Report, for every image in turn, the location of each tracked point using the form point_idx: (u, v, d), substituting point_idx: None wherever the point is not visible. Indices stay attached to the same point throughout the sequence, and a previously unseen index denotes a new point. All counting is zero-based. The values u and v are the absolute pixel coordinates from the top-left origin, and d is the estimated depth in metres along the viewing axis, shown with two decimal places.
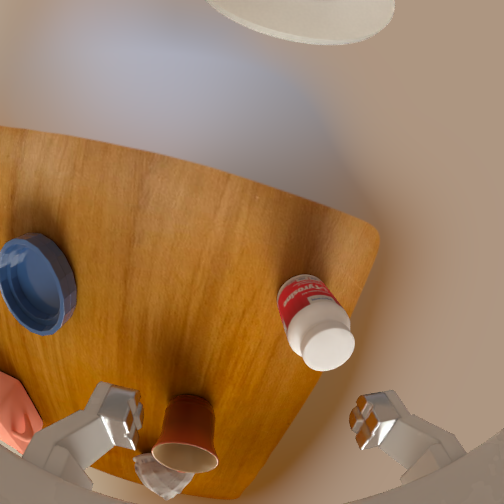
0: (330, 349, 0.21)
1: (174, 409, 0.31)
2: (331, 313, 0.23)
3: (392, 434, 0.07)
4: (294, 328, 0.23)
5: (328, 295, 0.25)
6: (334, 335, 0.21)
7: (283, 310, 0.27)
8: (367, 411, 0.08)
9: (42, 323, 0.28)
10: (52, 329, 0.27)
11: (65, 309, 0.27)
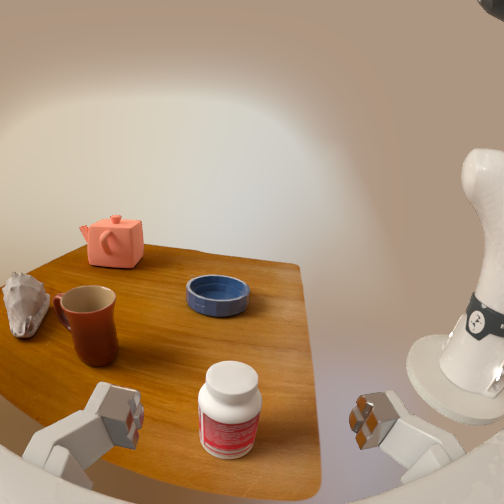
0: (233, 376, 0.22)
1: (116, 332, 0.37)
2: (257, 394, 0.23)
3: (392, 434, 0.07)
4: None
5: None
6: (249, 376, 0.23)
7: None
8: (367, 411, 0.08)
9: None
10: (192, 292, 0.53)
11: (208, 301, 0.51)
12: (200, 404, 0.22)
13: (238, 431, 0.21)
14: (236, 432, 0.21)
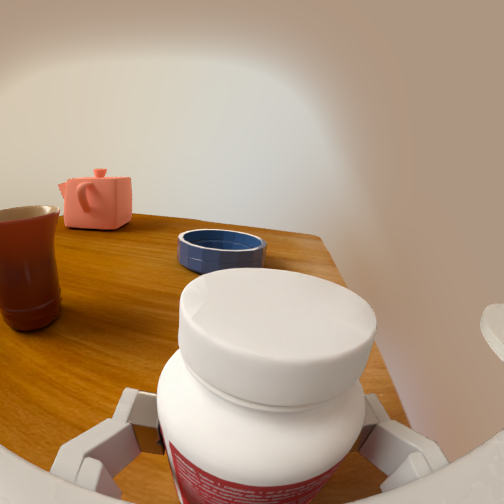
0: (286, 300, 0.06)
1: (58, 279, 0.21)
2: None
3: (371, 439, 0.07)
4: None
5: None
6: (342, 301, 0.06)
7: None
8: None
9: None
10: (186, 241, 0.38)
11: (207, 251, 0.35)
12: (160, 411, 0.06)
13: (294, 499, 0.05)
14: (286, 502, 0.05)
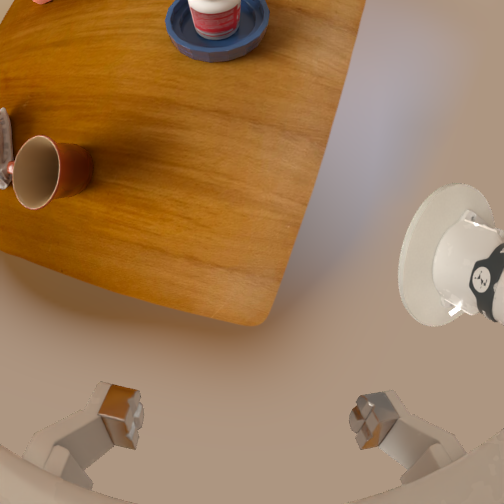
0: None
1: (81, 155, 0.28)
2: None
3: (392, 434, 0.07)
4: None
5: (238, 9, 0.22)
6: None
7: None
8: (367, 411, 0.08)
9: (174, 20, 0.25)
10: (173, 33, 0.24)
11: (196, 51, 0.26)
12: (188, 1, 0.19)
13: (217, 19, 0.22)
14: (215, 19, 0.22)
